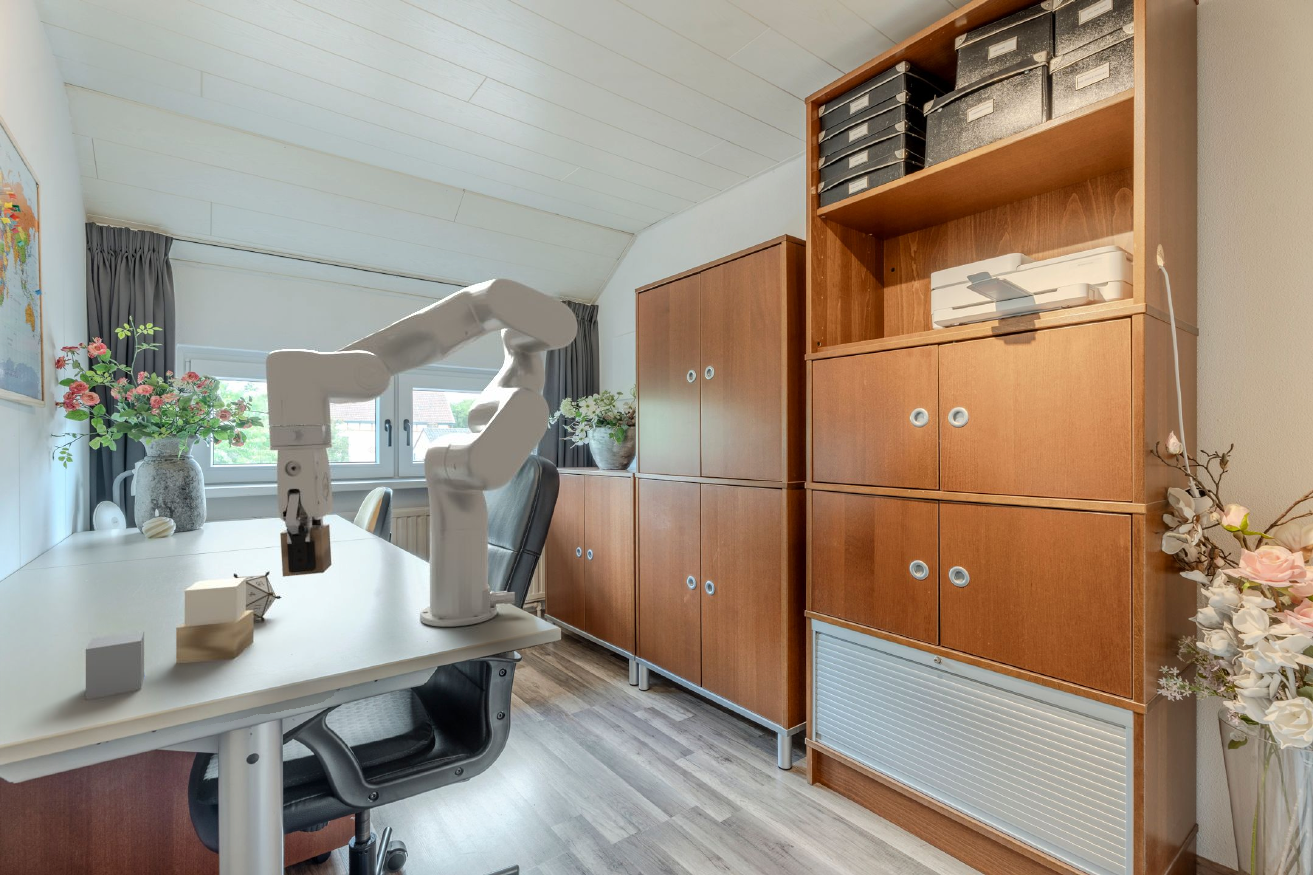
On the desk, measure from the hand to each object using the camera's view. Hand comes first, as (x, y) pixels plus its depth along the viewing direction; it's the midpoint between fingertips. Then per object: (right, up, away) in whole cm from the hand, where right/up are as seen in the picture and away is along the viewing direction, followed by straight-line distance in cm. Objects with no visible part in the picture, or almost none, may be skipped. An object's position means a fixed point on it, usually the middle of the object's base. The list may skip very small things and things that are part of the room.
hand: (307, 565), depth 87 cm
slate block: (-17, -13, -11) cm, 24 cm away
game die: (-19, -13, +17) cm, 29 cm away
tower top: (-14, -8, +1) cm, 16 cm away
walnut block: (0, -1, 0) cm, 1 cm away
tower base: (-14, -13, +1) cm, 19 cm away
